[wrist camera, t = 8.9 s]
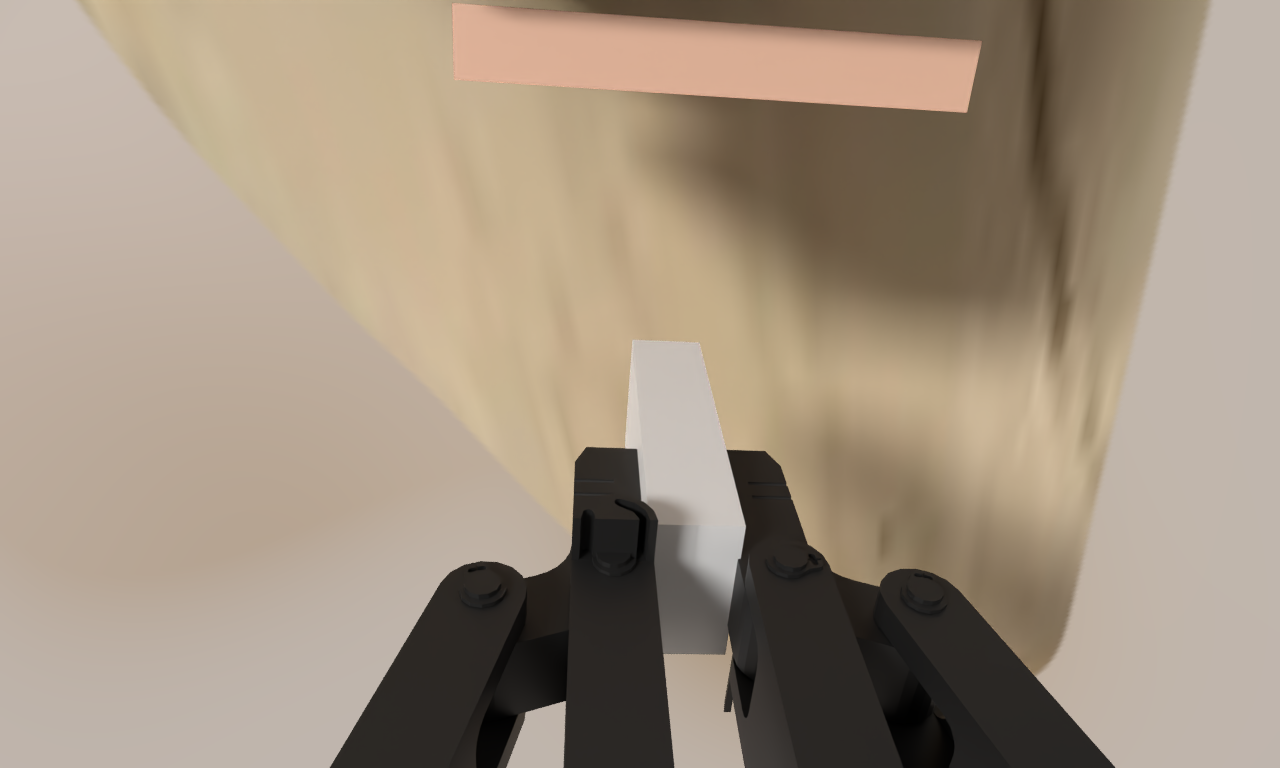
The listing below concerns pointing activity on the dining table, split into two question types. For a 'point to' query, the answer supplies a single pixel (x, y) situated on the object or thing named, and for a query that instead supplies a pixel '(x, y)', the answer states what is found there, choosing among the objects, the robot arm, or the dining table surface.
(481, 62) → the stub
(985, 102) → the dining table surface
